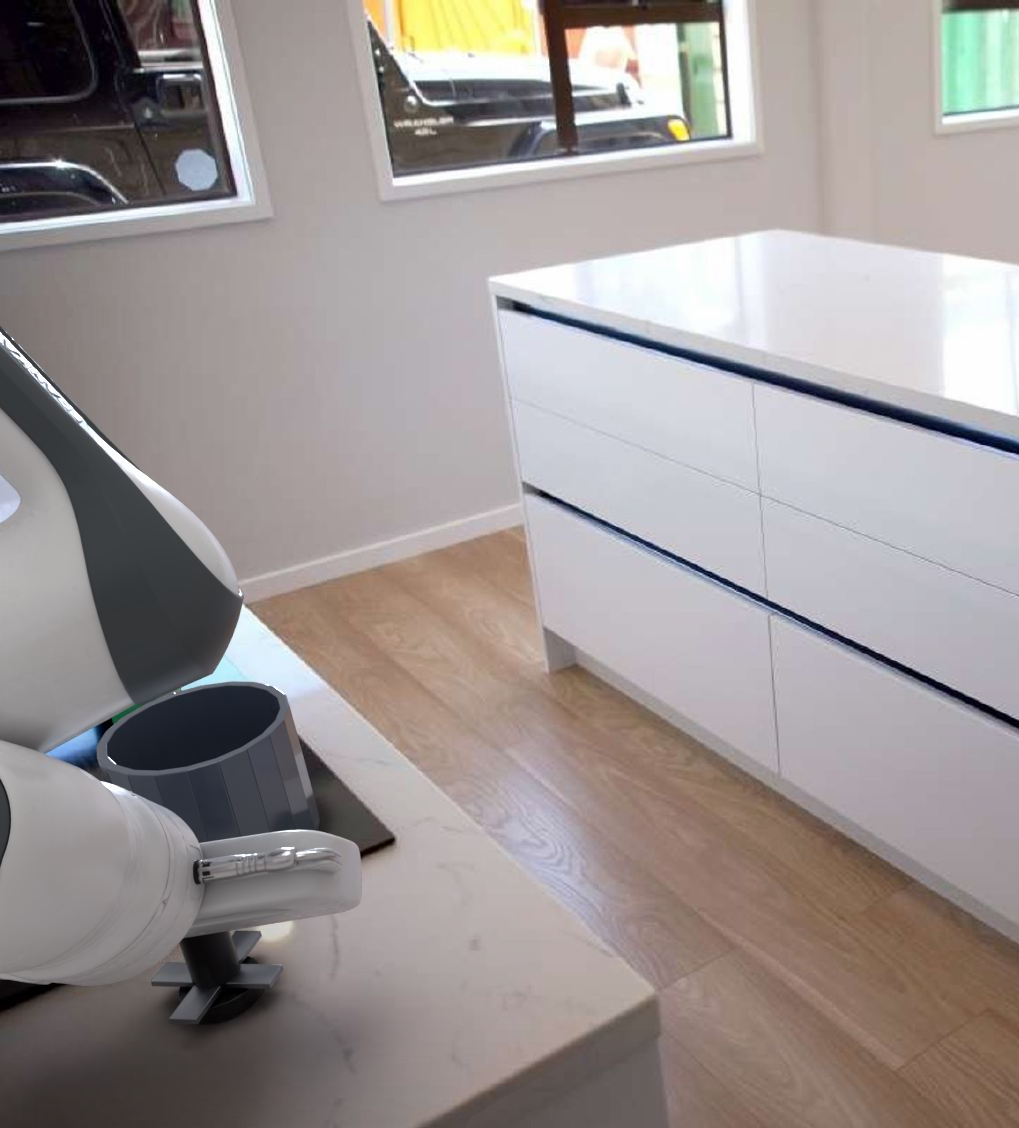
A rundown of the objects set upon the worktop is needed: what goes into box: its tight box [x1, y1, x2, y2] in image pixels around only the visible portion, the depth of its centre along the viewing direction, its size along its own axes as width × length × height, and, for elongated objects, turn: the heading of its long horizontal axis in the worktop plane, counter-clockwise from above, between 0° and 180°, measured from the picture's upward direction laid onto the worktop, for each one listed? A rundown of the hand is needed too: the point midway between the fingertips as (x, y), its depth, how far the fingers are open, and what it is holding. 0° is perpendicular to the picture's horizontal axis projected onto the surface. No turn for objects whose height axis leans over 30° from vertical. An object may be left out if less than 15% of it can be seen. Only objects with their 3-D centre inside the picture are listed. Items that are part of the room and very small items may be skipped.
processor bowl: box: [96, 680, 321, 843], centre depth 87 cm, size 12×12×10 cm
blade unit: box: [150, 930, 285, 1025], centre depth 73 cm, size 7×7×10 cm
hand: (203, 916), depth 73 cm, fingers open, 4 cm apart
